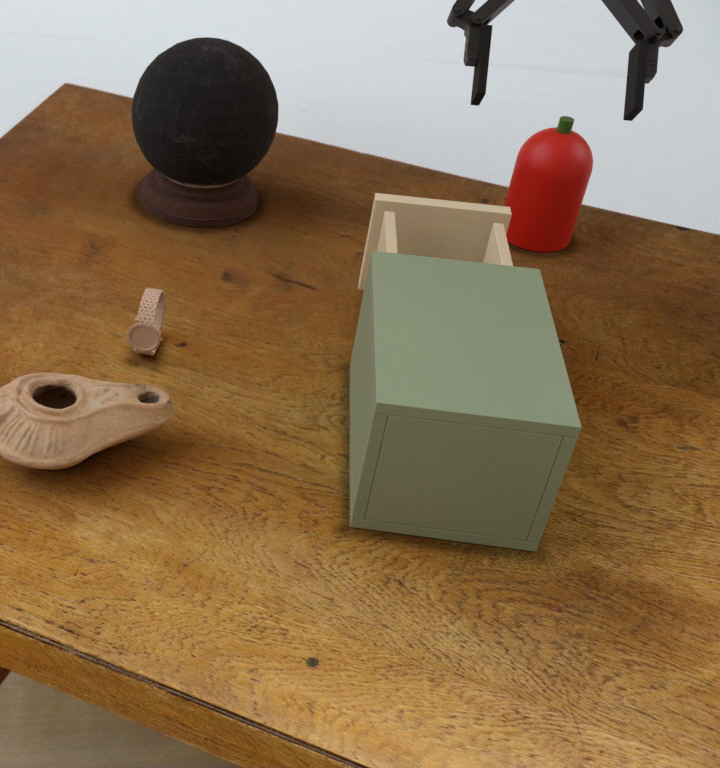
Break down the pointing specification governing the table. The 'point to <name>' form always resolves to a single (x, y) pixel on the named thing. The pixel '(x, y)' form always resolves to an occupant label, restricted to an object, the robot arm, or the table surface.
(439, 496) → the cabinet
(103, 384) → the pottery oil lamp
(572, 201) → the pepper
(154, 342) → the wristwatch
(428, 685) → the table surface
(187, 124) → the black ball on stand
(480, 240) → the drawer
